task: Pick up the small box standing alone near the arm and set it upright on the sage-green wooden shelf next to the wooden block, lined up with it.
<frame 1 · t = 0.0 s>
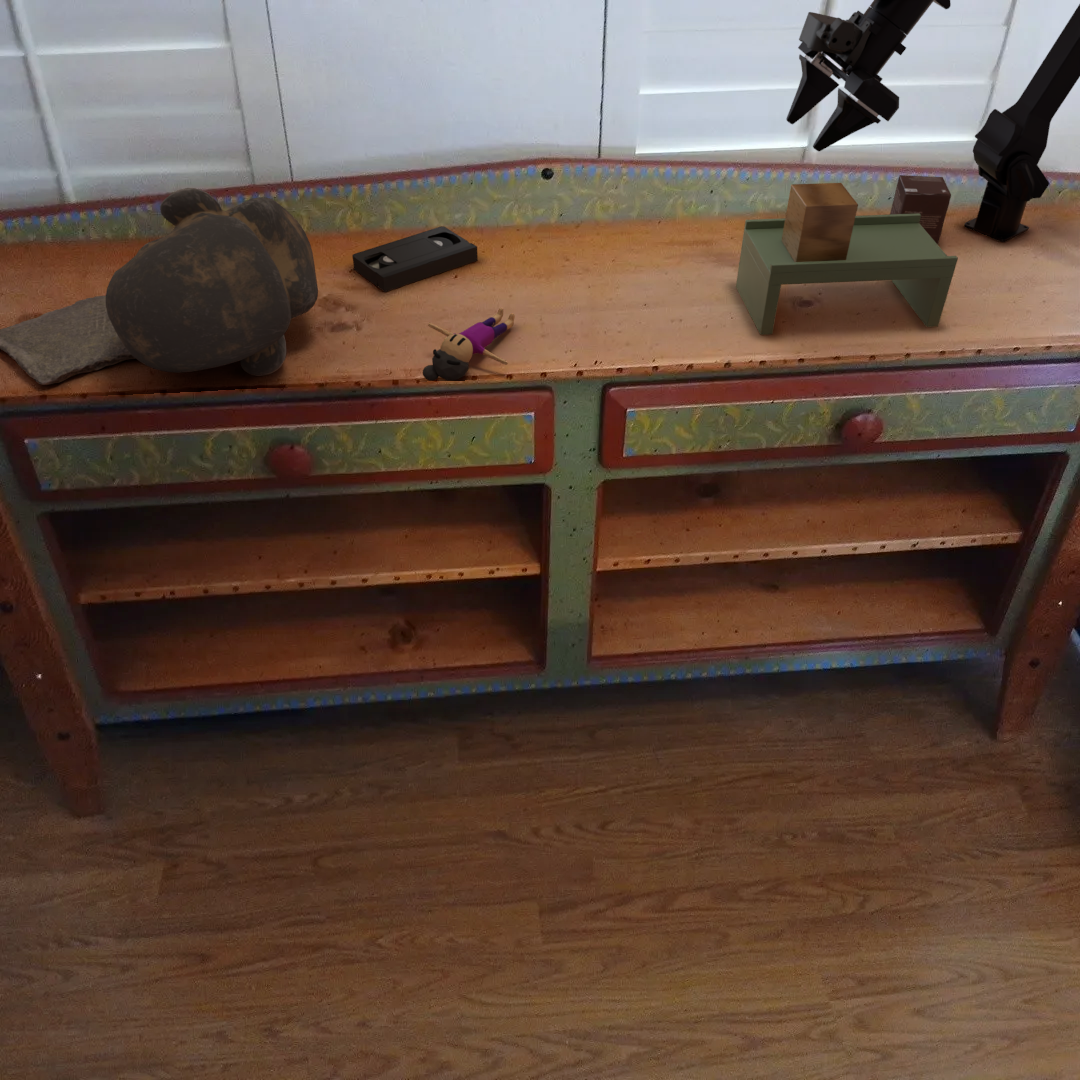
hand: (802, 135, 135), 15 cm above the table, tool tilted 35°, fingers open, 9 cm apart
box: (911, 237, 147), on the table
toy: (504, 325, 128), on the table
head: (322, 235, 121), point 11 cm above the table
wooden block: (813, 251, 126), point 8 cm above the table, touching shelf
shelf: (834, 306, 132), on the table
vhs tape: (415, 266, 139), on the table
stone: (136, 313, 126), point 1 cm above the table
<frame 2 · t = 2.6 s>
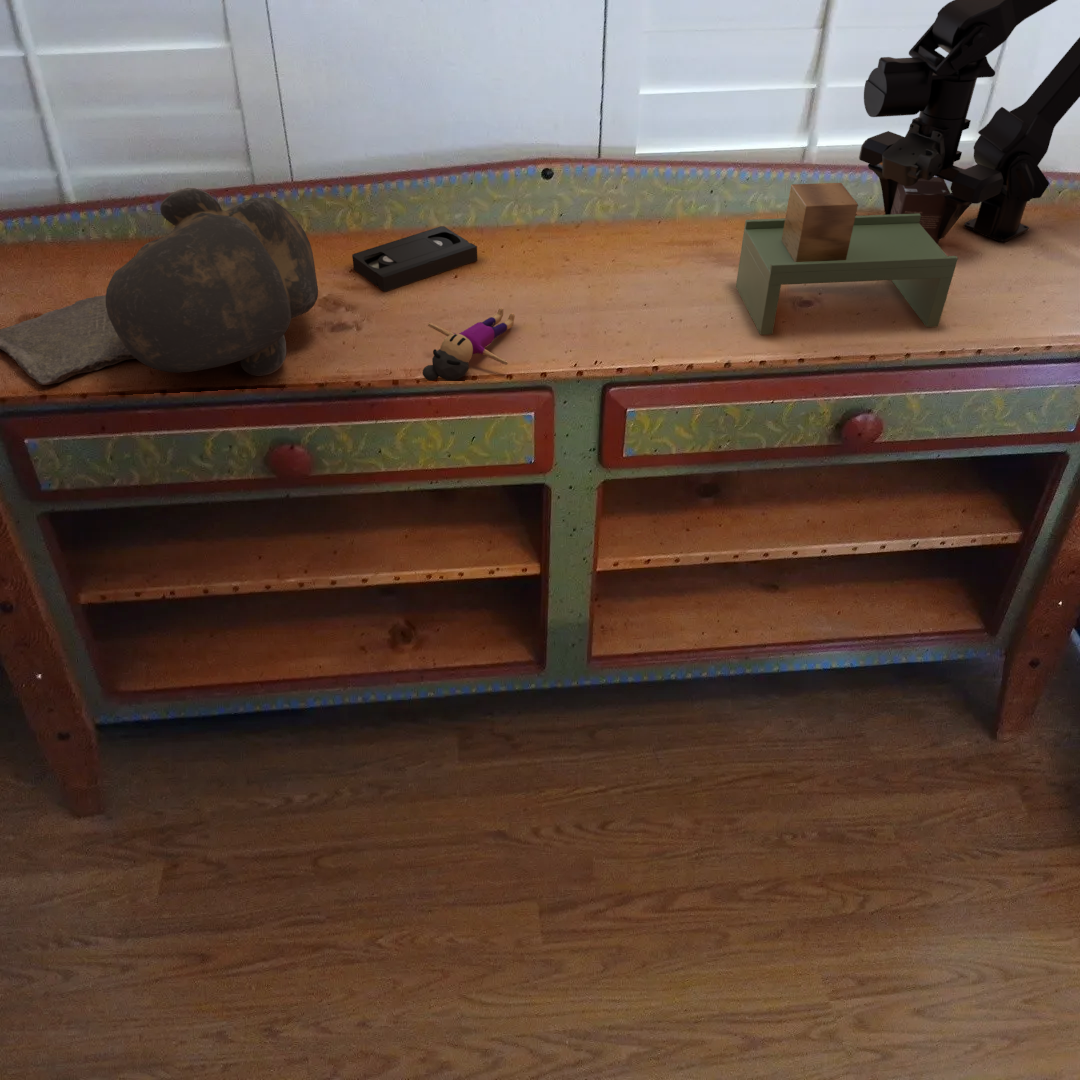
hand: (913, 227, 146), 1 cm above the table, tool pointing down, fingers closed on box, 8 cm apart
box: (911, 237, 147), on the table, touching gripper
everything else where it was.
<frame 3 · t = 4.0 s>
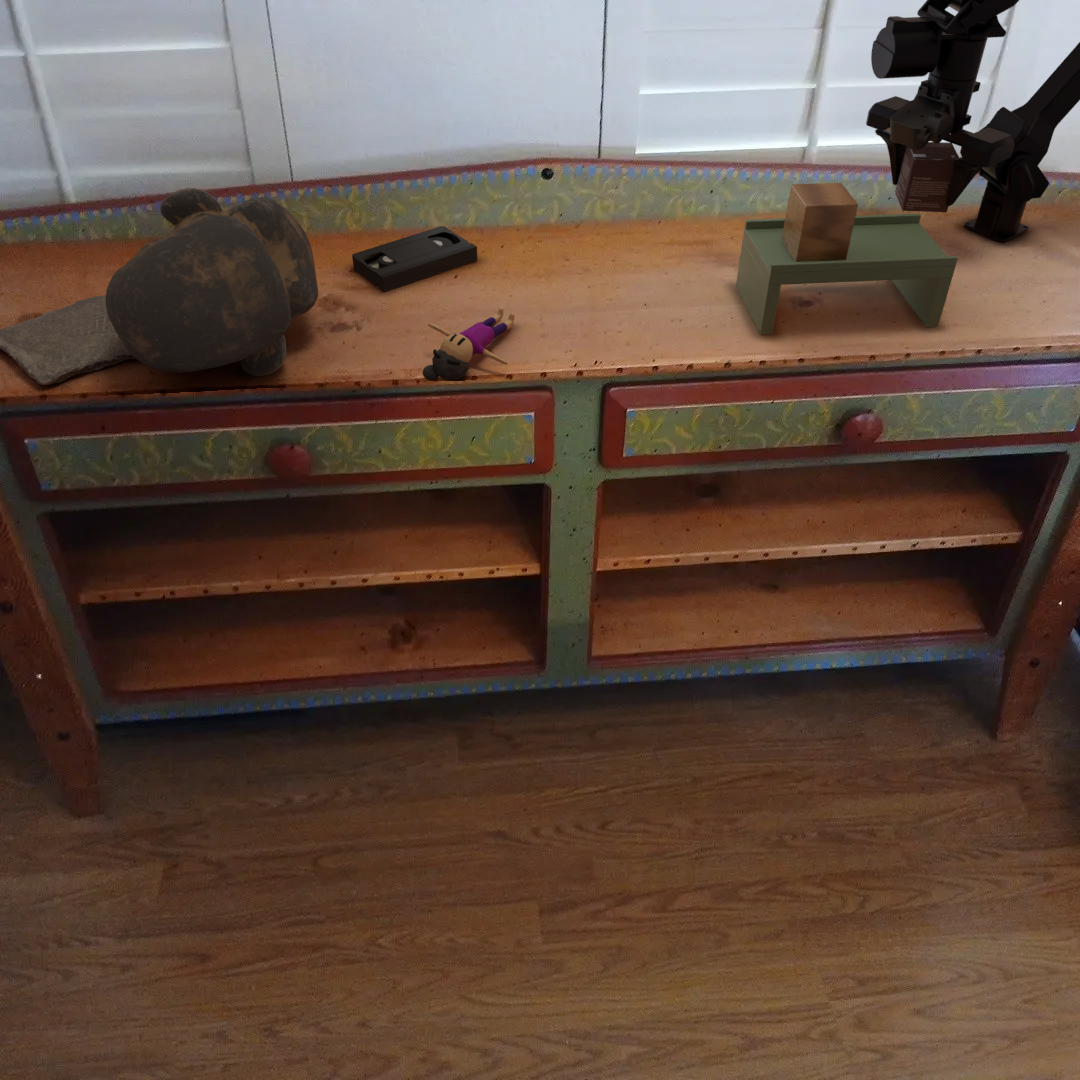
hand: (922, 194, 143), 6 cm above the table, tool pointing down, fingers closed on box, 8 cm apart
box: (919, 205, 144), point 4 cm above the table, touching gripper
everything else where it was.
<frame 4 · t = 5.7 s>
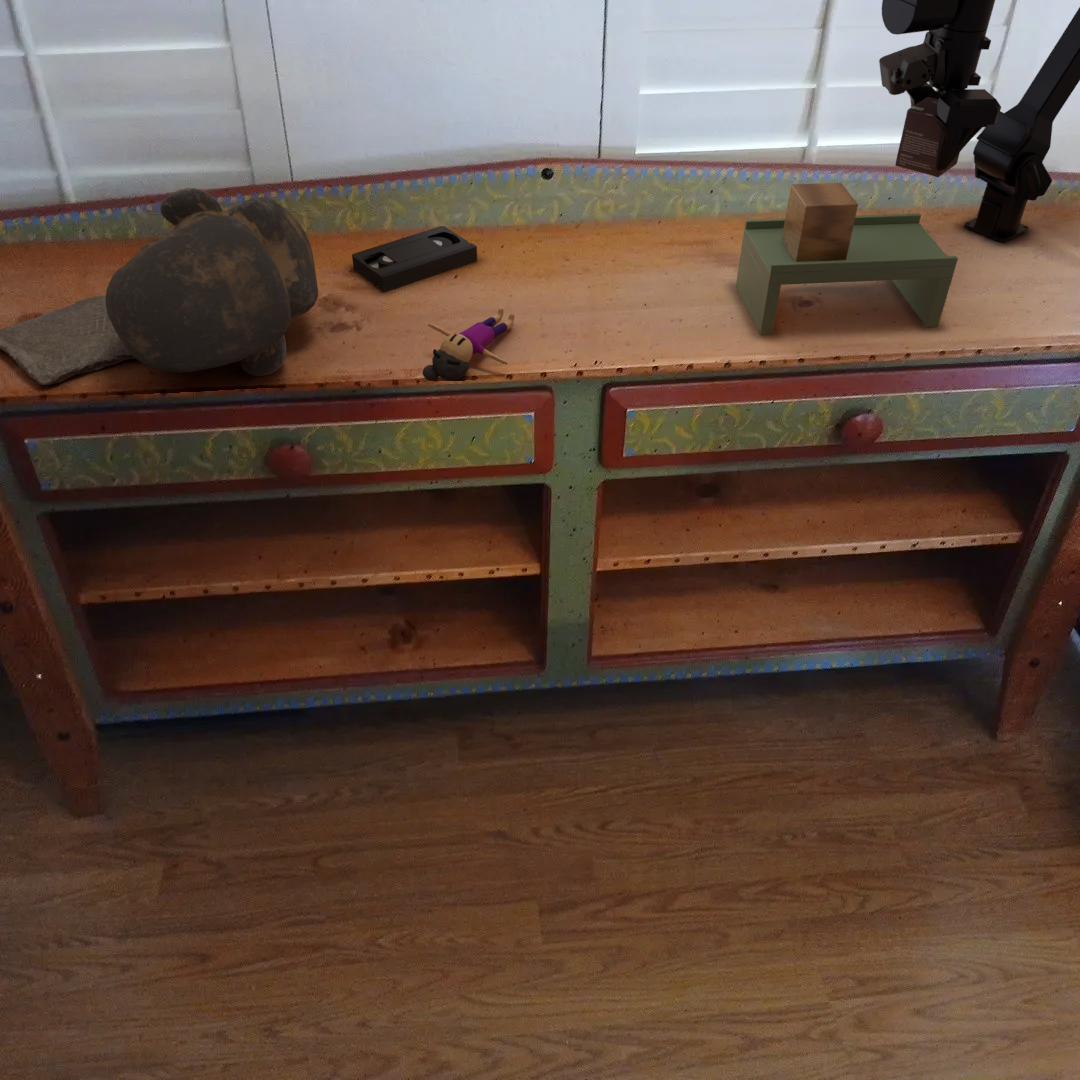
hand: (928, 156, 136), 13 cm above the table, tool pointing down, fingers closed on box, 8 cm apart
box: (924, 167, 137), point 11 cm above the table, touching gripper
everything else where it was.
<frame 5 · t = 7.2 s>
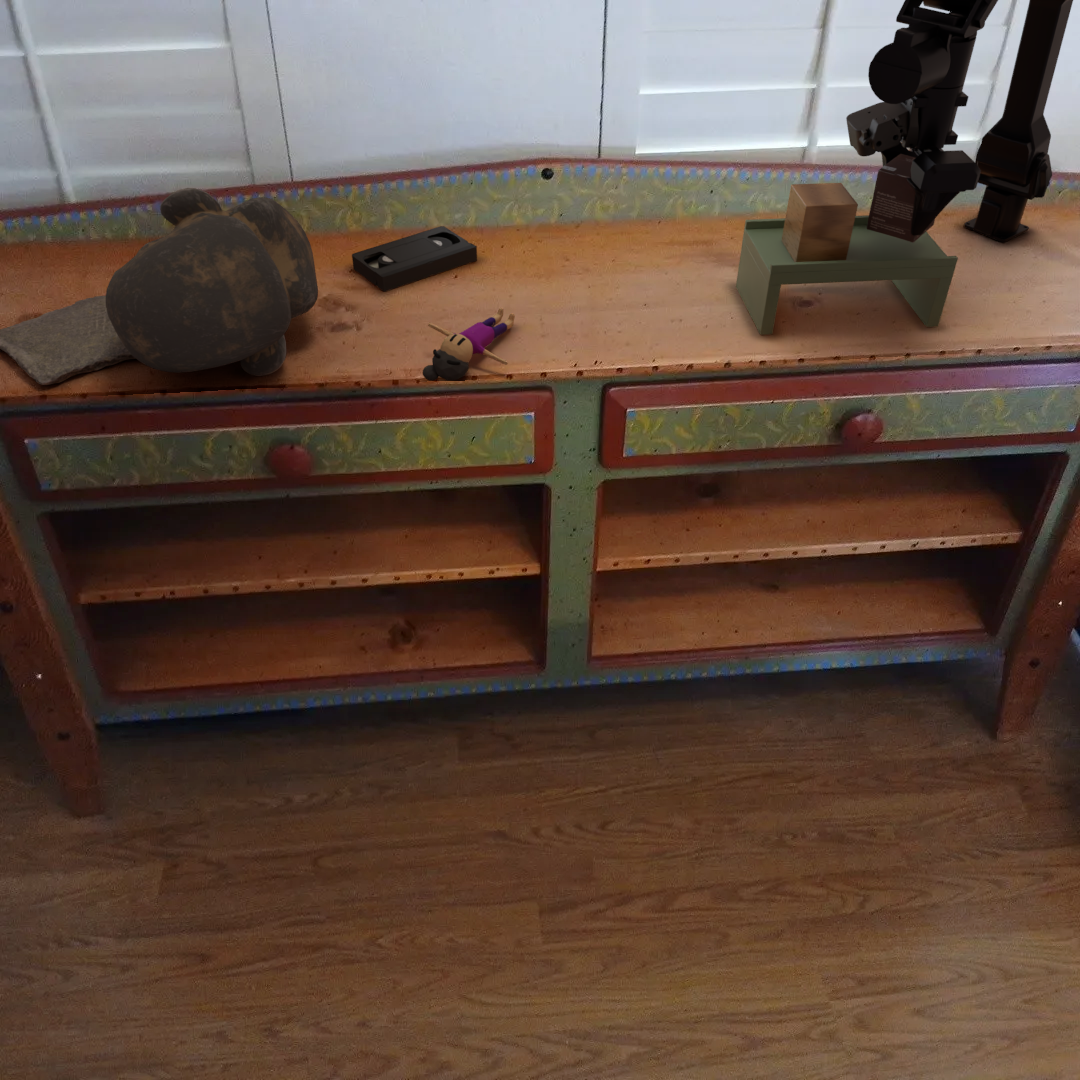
hand: (902, 218, 124), 12 cm above the table, tool pointing down, fingers closed on box, 8 cm apart
box: (898, 230, 125), point 10 cm above the table, touching gripper
everything else where it was.
when the fingers open (9 cm above the table, at t = 8.6 s): box stays where it is, resting on shelf.
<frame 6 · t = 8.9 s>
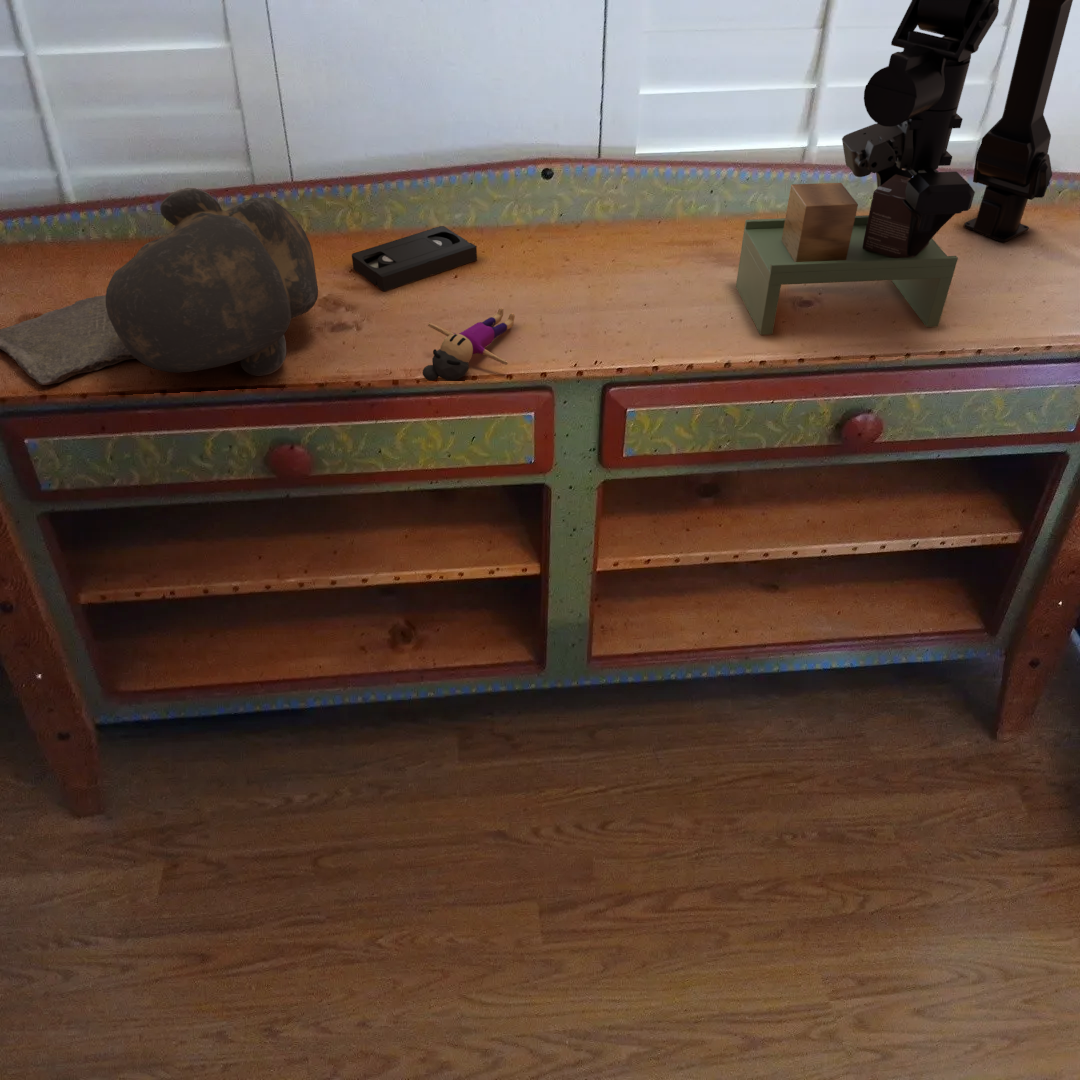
hand: (897, 237, 126), 9 cm above the table, tool pointing down, fingers open, 9 cm apart
box: (894, 249, 127), point 8 cm above the table, touching shelf
everything else where it was.
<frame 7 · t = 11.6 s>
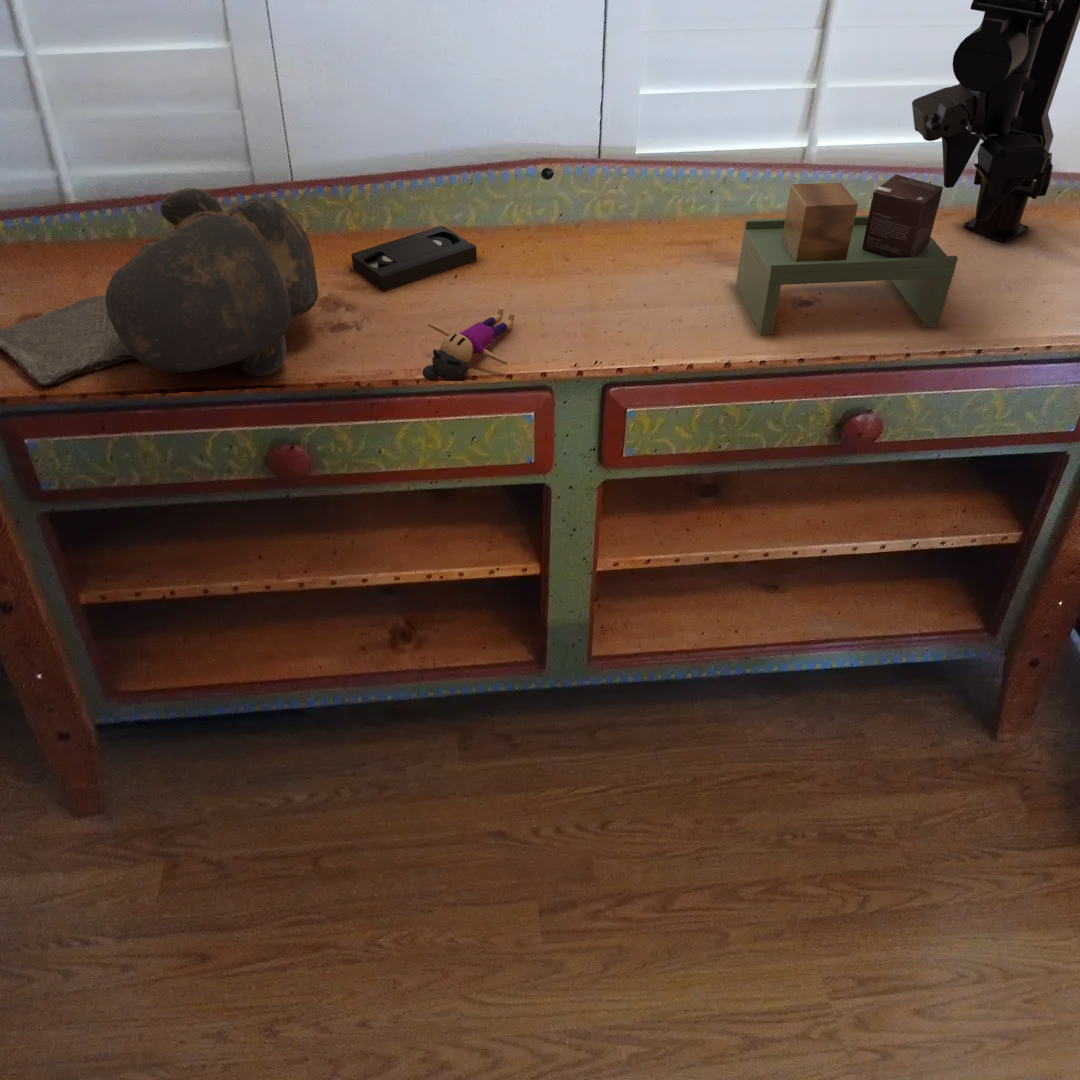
hand: (963, 203, 125), 13 cm above the table, tool pointing down, fingers open, 9 cm apart
nothing on the table moved.
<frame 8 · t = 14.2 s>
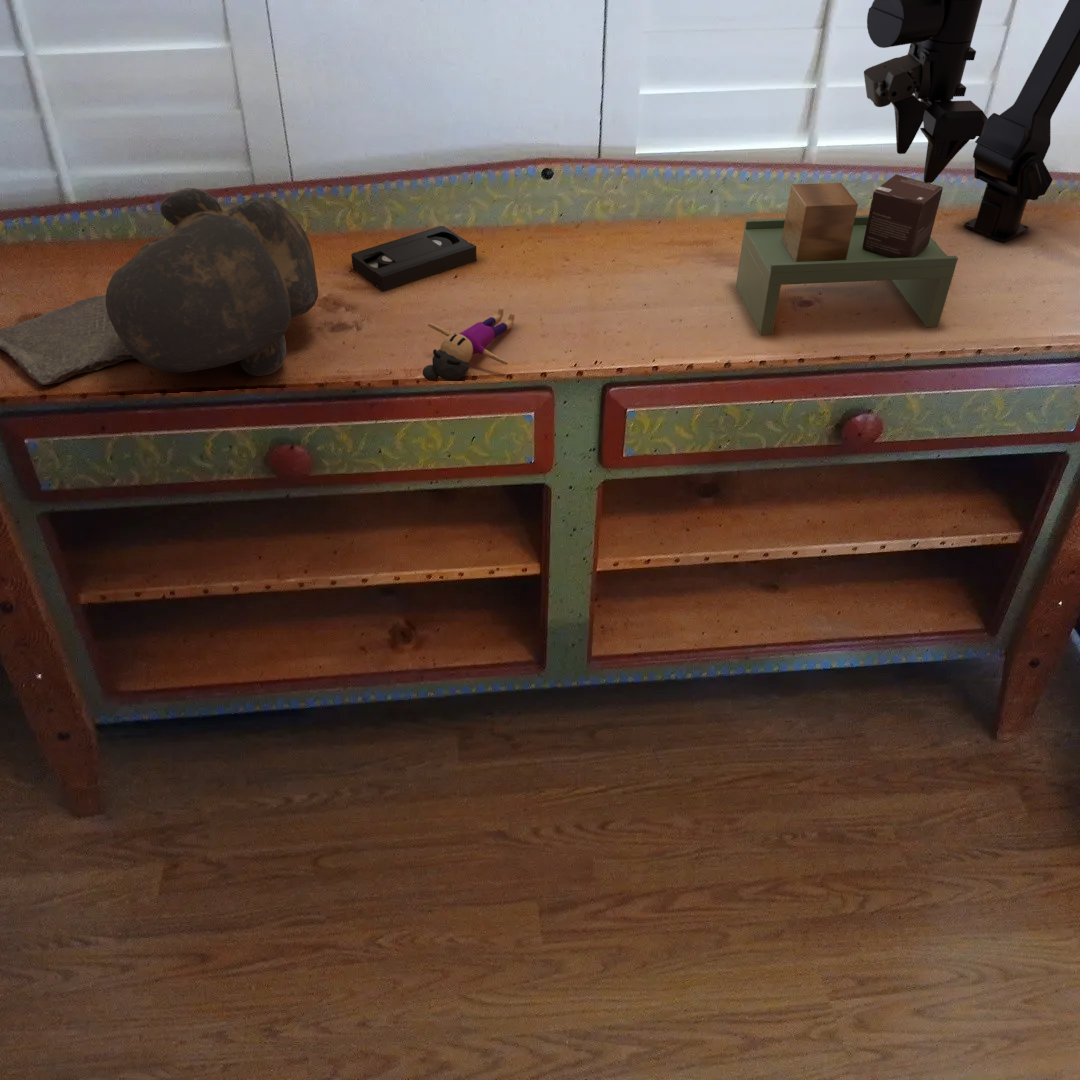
hand: (914, 167, 135), 12 cm above the table, tool pointing down, fingers open, 9 cm apart
nothing on the table moved.
at the end: box 0.0 cm from the target spot on the shelf, point 7.8 cm above the shelf's base; box tilted 0°; box 10.0 cm from the wooden block (horizontally) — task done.
